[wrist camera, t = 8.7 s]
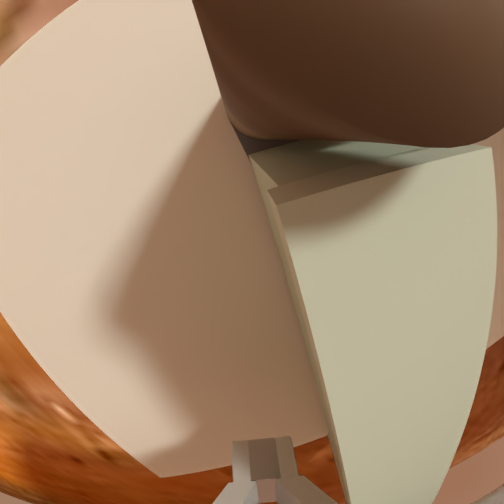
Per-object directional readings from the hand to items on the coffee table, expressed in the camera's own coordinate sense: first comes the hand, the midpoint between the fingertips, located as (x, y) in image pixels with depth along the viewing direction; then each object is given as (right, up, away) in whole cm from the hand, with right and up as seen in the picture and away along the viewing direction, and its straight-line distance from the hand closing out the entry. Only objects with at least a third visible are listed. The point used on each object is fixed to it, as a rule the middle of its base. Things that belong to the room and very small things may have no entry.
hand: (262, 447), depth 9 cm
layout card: (+1, +7, 0) cm, 7 cm away
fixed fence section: (+4, +12, -2) cm, 13 cm away
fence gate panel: (+2, +3, +1) cm, 4 cm away
